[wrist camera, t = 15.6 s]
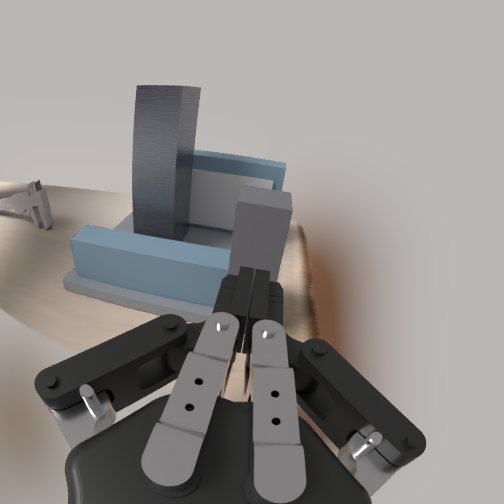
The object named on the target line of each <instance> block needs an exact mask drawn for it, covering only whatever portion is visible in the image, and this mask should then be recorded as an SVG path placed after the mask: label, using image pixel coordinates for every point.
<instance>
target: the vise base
mask: <svg viewBox="0 0 504 504" xmlns="http://www.w3.org/2000/svg"><path fill="white" fill-rule="evenodd" d="M285 170H286V164H285V163H281V162H276V161H271V160H265V159H258V158H252V157H245V156H239V155H232V154H225V153H218V152H210V151H201V150H194V156H193V167H192V180H191V194H190V210H189V229H188V233H187V235H186V236H185V238H184V239H183V241H182V242H186V243H192V244H198V245H204V246H209V247H215V248H221V249H227V250H231V244H232V236H233V228H234V220H235V213H236V205H237V200H238V197H239V195H240V193H241V190H242V188H243V186H244V185H248V186H254V187H260V188H266V189H272V190H277V191H282V186H283V181H284V176H285ZM113 230H118V231H124V232H129V233H134V228H133V212H132V213H131V214H130V215H128V216H127V217H126V218H125V219H124V220H123V221H122V222H121V223H120V224H119V225H117V226H116V227H115V228H114V229H113ZM63 282H64V286H65V289H66V290H69V291H72V292H75V293H79V294H82V295H85V296H89V297H92V298H96V299H99V300H103V301H106V302H110V303H114V304H117V305H121V306H125V307H129V308H133V309H137V310H141V311H145V312H149V313H153V314H157V315H161V316H162V315H165V314H175V315H178V316H180V317H182V318H183V319H184V320H185V321H188V322H193V323H200V322H203V321H205V320H207V318H208V317H209V316H210V315H211V314H212V312H213V309H214V307H212V306H207V305H201V304H196V303H191V302H187V301H182V300H177V299H172V298H168V297H163V296H159V295H154V294H150V293H145V292H141V291H137V290H132V289H128V288H124V287H120V286H116V285H112V284H108V283H104V282H100V281H96V280H92V279H89V278H85V277H81V276H77V271H76V267H75V268H74V269H73V270H72V271H71V272H70V273H69V274H68V275H67V276H66V277H65V278H64V279H63ZM245 331H246V327H245Z"/></svg>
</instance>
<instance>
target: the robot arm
mask: <svg viewBox="0 0 504 504" xmlns="http://www.w3.org/2000/svg"><path fill="white" fill-rule="evenodd" d="M254 270H255V268H250V267H244V266H240V270H239V274H238V276H237V275H231V274H228V275H227V276H225V277H224V278H223V279H222V282H221V285H220V288H219V292H218V295H217V299H216V302H215V305H214V309H213V312H212V314H211V315H210V316H209V317H208V318H207V320H205V321H203V322H200V323H190V324H187V323H186V321H185V320H184V319H183V318H182V317H180V316H178V315H175V314H165V315H162V316H160V317H157V318H155V319H153V320H151V321H149V322H147V323H145V324H142V325H140V326H138V327H136V328H134V329H132V330H130V331H127V332H125V333H123V334H121V335H119V336H117V337H114V338H112V339H110V340H108V341H106V342H104V343H101V344H99V345H97V346H95V347H93V348H90V349H88V350H86V351H84V352H82V353H79V354H77V355H75V356H73V357H70V358H68V359H66V360H64V361H61V362H60V363H57V364H55V365H53V366H51V367H48V368H46V369H44V370H42V371H41V372H40V373H39V374H38V375H37V377H36V379H35V389H36V391H37V393H38V394H39V396H40V397H41V398H42V400H43V401H44V403H45V405H46V406H47V408H48V409H49V410H50V412H51V413H52V414H53V415H54V416H55V418H56V420H57V423H58V425H59V426H60V428H61V430H62V432H63V434H64V436H65V438H66V440H67V442H68V443H69V445H70V447H71V449H72V450H71V452H70V453H69V455H68V457H67V460H66V464H65V475H66V480H67V485H68V504H372V503H371V498H370V497H371V496H372V495H373V494H374V493H375V492H376V491H377V490H378V489H379V488H380V487H381V486H382V485H383V484H384V483H385V482H386V481H387V480H388V479H389V478H390V477H391V476H392V475H393V474H394V473H395V472H396V471H397V470H399V469H401V468H402V467H404V466H405V465H407V464H408V463H410V462H411V461H413V460H414V459H416V458H417V457H419V456H420V455H421V454H422V453H423V452H424V450H425V448H426V439H425V436H424V435H423V433H422V432H421V431H420V430H419V429H418V428H417V427H416V426H415V425H414V424H413V423H411V422H410V421H409V420H408V419H407V418H406V417H405V416H404V415H403V414H402V413H401V412H400V411H399V410H398V409H397V408H396V407H395V406H393V405H392V404H391V403H390V402H389V401H388V400H387V399H386V398H385V397H384V396H383V395H382V394H381V393H380V392H379V391H378V390H377V389H376V388H375V387H373V386H372V385H371V384H370V383H369V382H368V381H367V380H366V379H365V378H364V377H363V376H362V375H361V374H360V373H359V372H358V371H357V370H356V369H355V368H354V367H353V366H352V365H350V364H349V363H348V362H347V361H346V360H345V359H344V358H343V357H342V356H341V355H340V354H339V353H338V352H337V351H336V350H335V349H334V348H333V347H332V346H331V345H330V344H328V343H327V342H326V341H324V340H321V339H309V340H307V341H305V342H304V343H302V342H300V341H297V340H295V339H293V338H291V337H290V336H289V335H288V334H287V333H286V332H285V330H284V328H283V288H282V287H281V285H280V283H279V282H273V281H270V271H268V270H262V269H256V271H255V276H254ZM253 276H254V281H253ZM252 283H253V287H252ZM251 290H252V292H251ZM250 296H251V298H250ZM249 303H250V304H249ZM248 309H249V311H248ZM247 316H248V317H247ZM246 322H247V324H246ZM245 327H246V331H245ZM244 332H245V337H244ZM243 338H244V344H243V350H242V353H244V354H247V355H246V362H245V366H244V383H243V402H233V401H230V400H227V399H225V398H224V395H225V391H226V388H227V384H228V381H229V377H230V374H231V370H232V366H233V363H234V361H235V358H236V352H238V353H241V348H242V343H243ZM175 379H177V380H176V383H175V385H174V387H173V390H172V392H171V394H169V395H165V396H162V397H159V398H157V399H155V400H153V401H151V402H150V403H148V404H147V405H145V406H144V407H142V408H140V409H139V410H137V411H135V412H134V413H132V414H130V415H129V416H127V417H125V418H123V419H122V420H120V421H118V422H117V423H115V424H113V423H114V422H115V419H116V412H118V411H120V410H122V409H124V408H125V407H127V406H129V405H131V404H133V403H134V402H136V401H138V400H140V399H142V398H143V397H146V396H147V395H149V394H151V393H153V392H154V391H156V390H158V389H160V388H161V387H163V386H165V385H167V384H168V383H170V382H172V381H173V380H175ZM297 403H298V404H299V405H300V407H301V408H302V409H303V410H304V411H305V412H306V413H307V414H308V416H309V417H310V418H311V419H312V420H313V421H314V422H315V423H316V425H317V426H318V427H319V428H320V429H321V430H322V431H323V432H324V433H325V434H326V436H327V437H328V438H329V439H330V440H331V441H332V442H333V443H334V444H335V445H336V446H337V447H338V449H339V453H338V458H337V457H336V456H335V454H334V453H333V452H332V451H331V450H330V449H329V447H328V446H327V445H326V444H325V443H324V442H323V440H322V439H321V438H320V437H319V436H318V434H317V433H316V432H315V431H314V430H313V429H312V427H311V426H310V425H309V424H308V423H307V422H306V421H305V420H304V419H302V418H301V417H299V416H298V411H297ZM112 424H113V425H112Z"/></svg>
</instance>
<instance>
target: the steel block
mask: <svg viewBox="0 0 504 504" xmlns="http://www.w3.org/2000/svg"><path fill="white" fill-rule="evenodd" d="M200 91H201V88H199V87H190V86H167V85H165V86H164V85H142V86H137V91H136V102H135V115H134V133H133V162H132V197H133V228H134V233H135V234H141V235H146V236H152V237H158V238H163V239H169V240H175V241H181V242H182V241H183V239H184V238H185V236H186V235H187V233H188V229H189V210H190V194H191V180H192V167H193V156H194V145H195V135H196V134H195V133H196V125H197V116H198V107H199V99H200Z"/></svg>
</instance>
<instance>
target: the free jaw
mask: <svg viewBox="0 0 504 504" xmlns="http://www.w3.org/2000/svg"><path fill="white" fill-rule="evenodd" d="M291 215H292V199H291V193H288V192H283V191H277V190H272V189H266V188H260V187H254V186H248V185H244V186H243V188H242V190H241V193H240V195H239V197H238V200H237V205H236V213H235V220H234V228H233V236H232V244H231V250H227V249H221V248H215V247H209V246H204V245H198V244H192V243H186V242H181V241H175V240H169V239H163V238H158V237H152V236H146V235H141V234H135V233H129V232H124V231H118V230H112V229H106V228H101V227H95V226H89V225H87V226H85V227H84V228H83V229H82V230H81V231H79V232H78V233H77V234H76V235H75V236H74V237H72V238H71V239H70V240H71V246H72V251H73V256H74V262H75V266H76V271H77V276H81V277H85V278H89V279H92V280H96V281H100V282H104V283H108V284H112V285H116V286H120V287H124V288H128V289H132V290H137V291H141V292H145V293H150V294H154V295H159V296H163V297H168V298H172V299H177V300H182V301H187V302H191V303H196V304H201V305H207V306H212V307H214V305H215V302H216V299H217V295H218V292H219V288H220V285H221V282H222V279H223V278H224V277H225V276H227V275H228V274H231V275H237V276H238V274H239V270H240V266H244V267H250V268H255V270H254V276H255V271H256V269H262V270H268V271H270V281H273V282H276V281H277V277H278V273H279V269H280V264H281V260H282V256H283V251H284V247H285V242H286V238H287V233H288V229H289V224H290V220H291ZM254 276H253V281H254ZM252 287H253V283H252ZM251 292H252V290H251ZM250 298H251V296H250ZM249 304H250V303H249ZM248 311H249V309H248ZM247 317H248V316H247ZM246 324H247V322H246Z"/></svg>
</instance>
